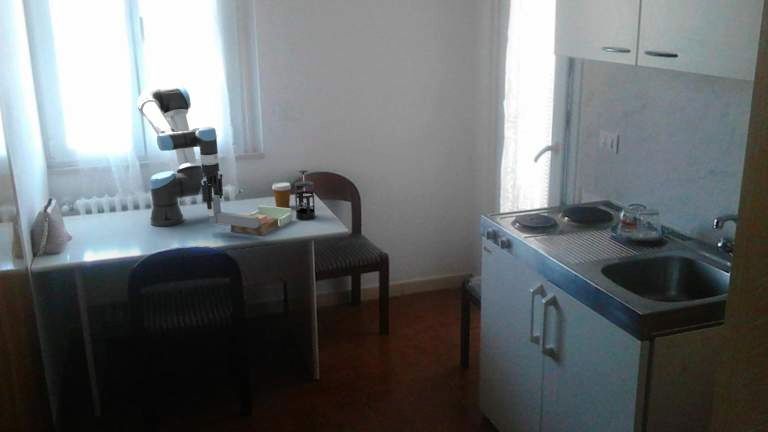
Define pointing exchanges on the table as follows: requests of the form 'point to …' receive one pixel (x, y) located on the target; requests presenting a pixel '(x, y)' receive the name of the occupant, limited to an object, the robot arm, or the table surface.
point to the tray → (275, 214)
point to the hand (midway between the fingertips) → (214, 214)
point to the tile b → (262, 219)
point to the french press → (304, 207)
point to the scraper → (231, 216)
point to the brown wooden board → (261, 229)
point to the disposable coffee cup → (282, 194)
